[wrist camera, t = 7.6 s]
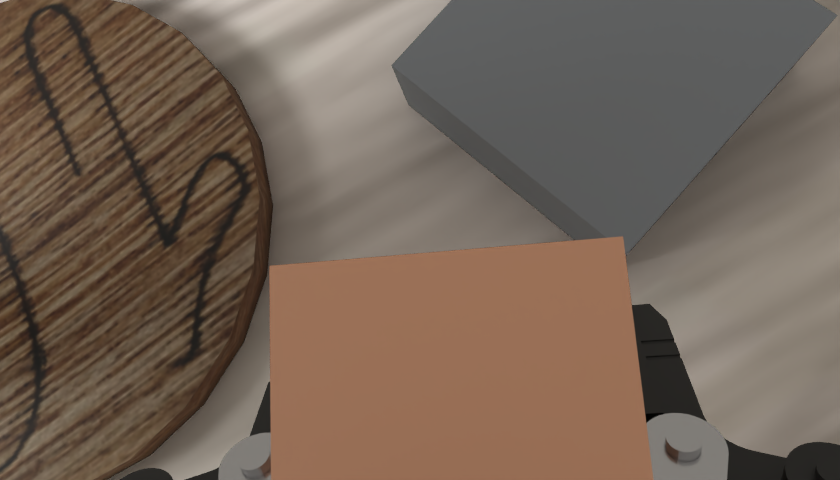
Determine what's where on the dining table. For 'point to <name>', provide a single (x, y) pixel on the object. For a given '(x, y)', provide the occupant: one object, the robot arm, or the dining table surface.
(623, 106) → the charcoal plinth
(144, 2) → the dining table surface
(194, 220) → the trivet
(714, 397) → the dining table surface
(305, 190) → the dining table surface
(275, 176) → the dining table surface
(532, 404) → the terracotta block
